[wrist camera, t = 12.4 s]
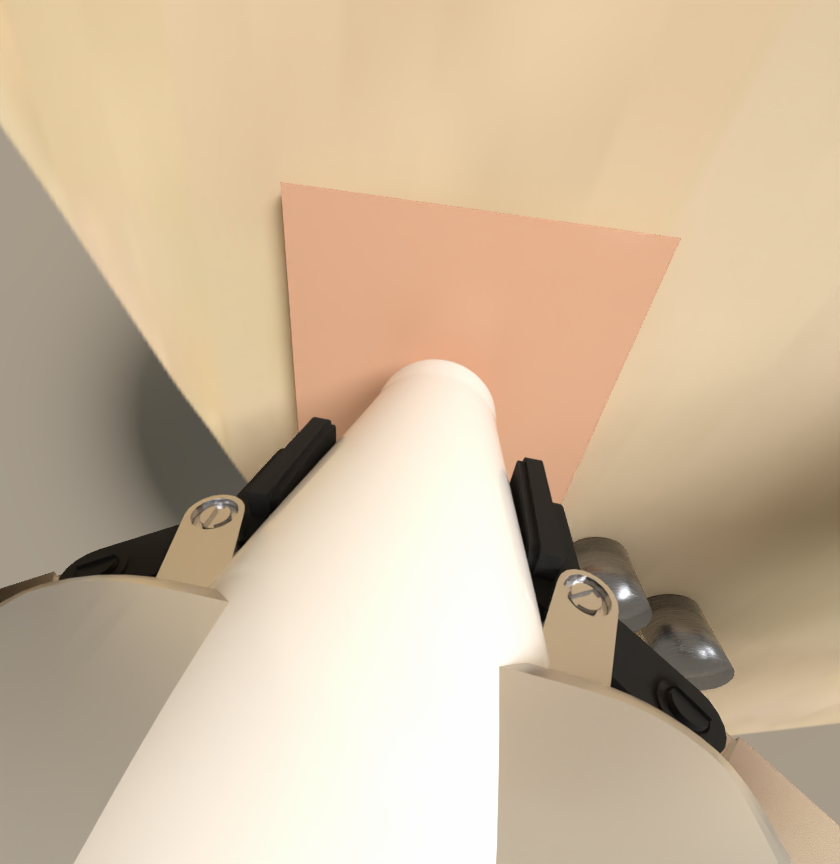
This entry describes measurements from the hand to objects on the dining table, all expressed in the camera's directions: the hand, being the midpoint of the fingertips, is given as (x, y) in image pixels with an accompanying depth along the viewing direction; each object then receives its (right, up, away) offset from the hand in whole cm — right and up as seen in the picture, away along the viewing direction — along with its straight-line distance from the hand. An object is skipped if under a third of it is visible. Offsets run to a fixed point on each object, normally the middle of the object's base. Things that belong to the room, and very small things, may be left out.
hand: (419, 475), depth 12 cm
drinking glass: (+1, +3, +5) cm, 5 cm away
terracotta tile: (+1, +4, +7) cm, 8 cm away
